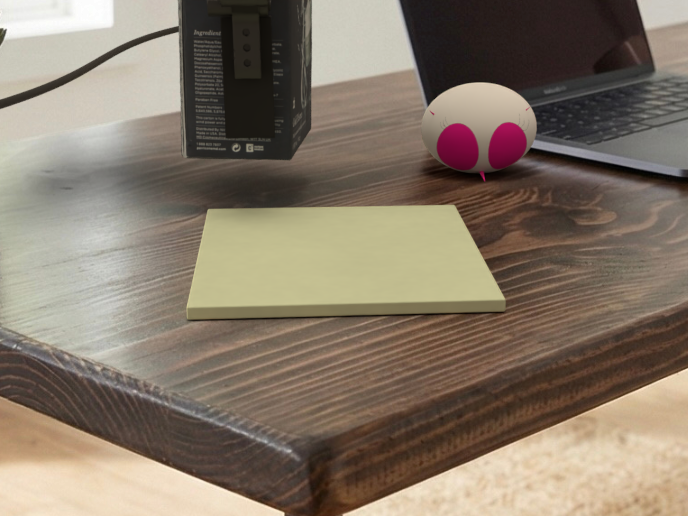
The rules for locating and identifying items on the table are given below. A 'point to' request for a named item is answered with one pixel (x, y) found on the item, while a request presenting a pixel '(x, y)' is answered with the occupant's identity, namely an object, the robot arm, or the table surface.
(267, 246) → the mat
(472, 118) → the stress ball
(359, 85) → the table surface
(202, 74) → the box
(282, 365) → the table surface
